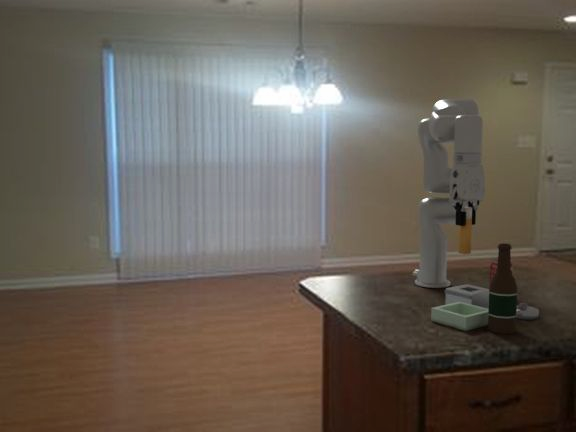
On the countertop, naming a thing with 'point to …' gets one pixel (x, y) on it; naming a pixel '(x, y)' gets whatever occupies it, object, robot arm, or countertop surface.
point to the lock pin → (466, 233)
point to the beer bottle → (502, 295)
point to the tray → (460, 315)
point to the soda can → (494, 267)
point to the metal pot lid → (526, 312)
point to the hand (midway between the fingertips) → (465, 224)
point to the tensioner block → (468, 295)
